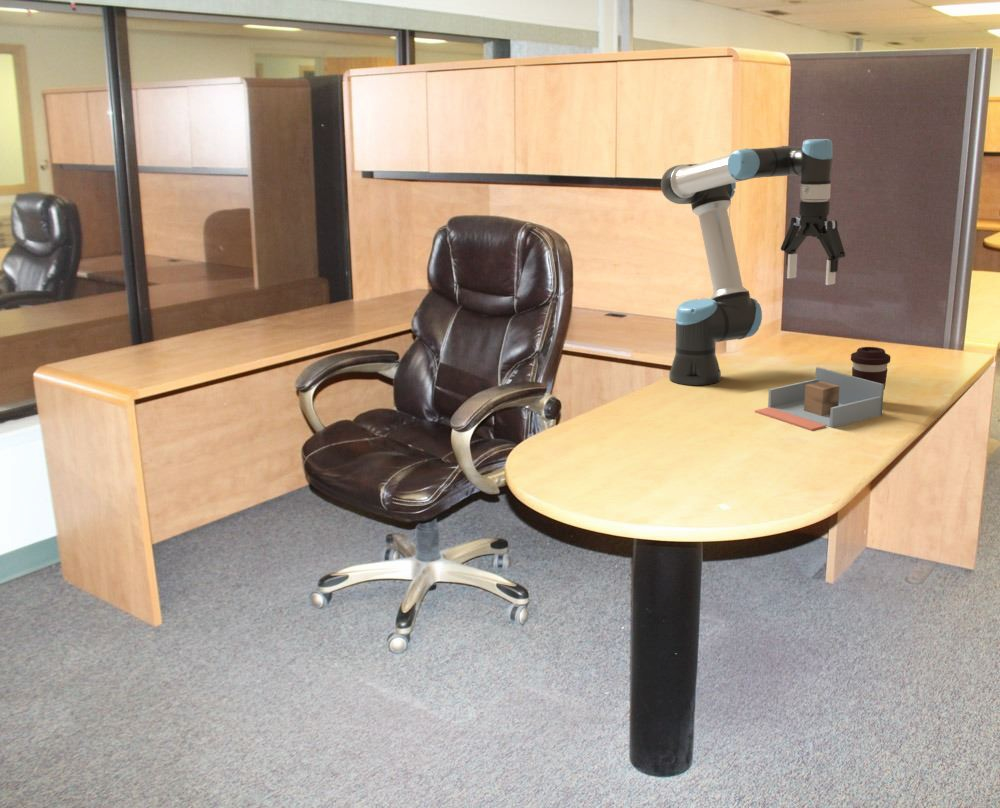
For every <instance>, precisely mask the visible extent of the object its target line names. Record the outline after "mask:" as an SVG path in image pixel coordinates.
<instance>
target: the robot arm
mask: <svg viewBox="0 0 1000 808" xmlns="http://www.w3.org/2000/svg"><path fill="white" fill-rule="evenodd" d="M833 157H834V155H833V141H832V140H831V139H828V138H816V139H815V138H812V139H811V138H810V139H805V140H803V142H802V146H791V145H781V146H775V147H764V148H743V149H742V148H741V149H736V150H735V151H733V152H732V153H731V154H728V155H725V156H721V157H718V158H715V159H712V160H708V161H704V162H703V161H702V162H700V163H690V164H678V165H674V166H672V167H670V168H669V169H667V170H666V171H665V172H664V173H663V174H662V178H661V179H660V180H661V181H660V189H661V192H662V195H663V196H664V197H665V199H667V200H668V201H669V202H671V203H673V204H677V205H691V210H692V213H693V214H695V215H697V216H698V219H699V224H700V230H701V235H702V239H703V246H704V250H705V253H706V259H707V264H708V270H709V273H710V280H711V284H712V289H713V294H712V295H711V297H710V298H699V299H698V298H695V299H691V300H686V301H684V302H682V303H680V304H678V306H677V308H676V314H675V318H674V319H675V321H674V322H675V354H674V357H673V360H672V365H671V368H670V369H669V374H668V376H669V378H668V379H669V380H670V381H671V382H672V383H676V384H680V385H687V386H688V385H689V386H705V385H707V386H708V385H712V384H716V383H719V382H721V376H722V374H721V373H722V372H721V369H720V366H719V362H718V358H717V355H716V343H720V342H725V341H727V342H728V341H733V340H734V341H735V340H743V339H745V338H750V337H752V336H754V335H755V334H756V333H757V332H758V331H759V329H760V326H761V324H762V320H763V310H762V307H761V304H760V303H759V302H758V301H757V299H755V298H752V297H751V295H750V290H748V289H746V287H744V286H743V282H742V278H741V277H742V276H741V272H740V267H739V261H738V257H737V251H736V248H735V241H734V237H733V236H734V235H733V232H732V227H731V221H730V217H729V213H728V212H729V211H728V208H729V207H730V205H731V204H732V202H731V199H732V198H733V197H734V196H735V193H736V190H735V189H736V187H737V185H736V183H738V182H742V181H748V180H752V179H757V178H759V179H760V178H772V177H773V178H774V177H785V176H787V177H788V176H790V177H791V176H795V177H797V176H798V177H800V179H801V180H800V194H799V195H800V196H799V197H800V200H801V201H800V202H799V209H798V213H799V216H793V217H791V218H790V226H789V227H788V230H787V232H786V235H785V237H784V240H783V241H782V243H781V246H780V250H781V251H782V252H784V253H785V254H786V259H785V260H786V261H785V264H786V266H787V269H786V271H787V273H786V279H795V278H797V271H798V269H797V268H798V253H797V250H798V249H799V247H800V246H801V245H802V243H803V242H804V241H805V239H806V238H807V237H814V238H817V239H818V240H819V242H820V244H821V245H822V248H823V249H824V251H825V254H827V256H828V259H827V260H826V266H825V267H826V269H825V270H826V271H825V285H826V286H831V285H835V284H836V273H837V272H838V269H839V268H838V267H839V260H840V259H843V258H845V257H846V252H845V250H844V245H843V242H842V240H841V237H840V232H839V230H838V220H835V219H834V220H828V216H829V214H830V206H831V203H830V201H829V199H831V188H832V187H831V185H832V184H831V182H832V181H831V180H832V169H833V168H832V167H833Z"/></svg>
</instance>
